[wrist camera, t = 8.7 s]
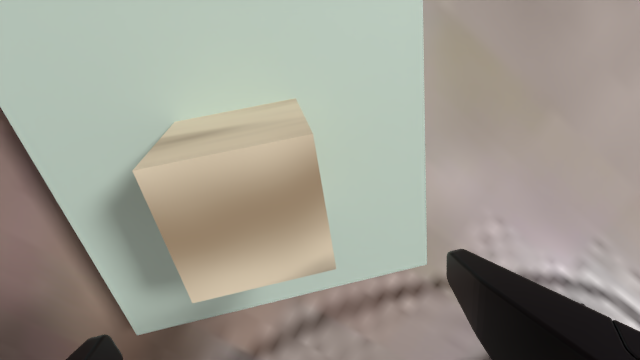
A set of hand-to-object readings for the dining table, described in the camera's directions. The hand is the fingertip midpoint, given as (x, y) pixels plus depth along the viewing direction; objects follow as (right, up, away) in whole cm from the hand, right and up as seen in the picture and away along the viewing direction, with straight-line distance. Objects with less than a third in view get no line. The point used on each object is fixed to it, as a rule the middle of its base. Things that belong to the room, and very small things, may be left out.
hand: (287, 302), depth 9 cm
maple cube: (-2, +4, +8) cm, 9 cm away
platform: (-3, +5, +10) cm, 12 cm away
